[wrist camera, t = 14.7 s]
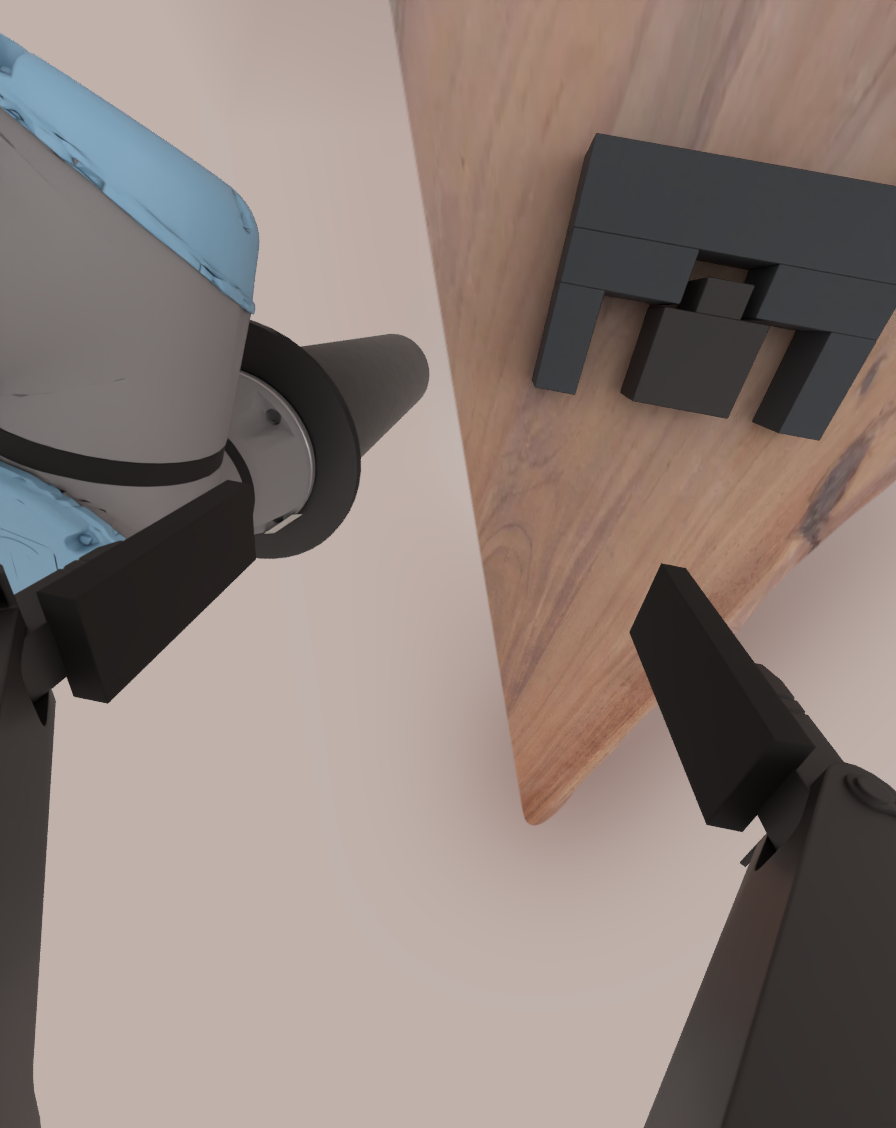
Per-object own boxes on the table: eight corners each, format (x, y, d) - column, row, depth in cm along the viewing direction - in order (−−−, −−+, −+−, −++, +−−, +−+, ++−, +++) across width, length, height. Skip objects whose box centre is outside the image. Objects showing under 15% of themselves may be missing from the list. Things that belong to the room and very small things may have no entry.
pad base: (531, 380, 36) (534, 387, 33) (585, 154, 29) (596, 132, 26) (788, 428, 36) (819, 440, 32) (904, 211, 29) (959, 197, 25)
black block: (619, 392, 36) (632, 401, 32) (658, 276, 32) (677, 271, 28) (705, 408, 36) (727, 418, 32) (755, 293, 32) (786, 290, 28)
